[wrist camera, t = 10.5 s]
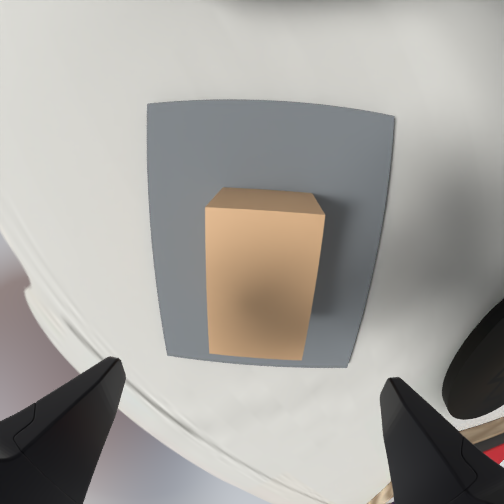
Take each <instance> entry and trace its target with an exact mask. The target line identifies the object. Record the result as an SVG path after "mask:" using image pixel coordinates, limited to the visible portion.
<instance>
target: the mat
mask: <svg viewBox="0 0 504 504" xmlns="http://www.w3.org/2000/svg"><path fill="white" fill-rule="evenodd" d="M393 130H394V116H391V115H386V114H381V113H376V112H370V111H364V110H358V109H352V108H345V107H337V106H329V105H321V104H311V103H300V102H287V101H270V100H191V101H174V102H161V103H150V104H147V172H148V196H149V213H150V226H151V239H152V249H153V259H154V269H155V277H156V286H157V293H158V301H159V308H160V315H161V321H162V327H163V334H164V339H165V345H166V351H167V356H174V357H181V358H188V359H196V360H204V361H213V362H223V363H233V364H245V365H259V366H276V367H302V368H347V366H348V363H349V360H350V357H351V353H352V350H353V347H354V343H355V340H356V337H357V333H358V330H359V326H360V322H361V319H362V315H363V311H364V307H365V303H366V299H367V295H368V291H369V287H370V283H371V278H372V274H373V269H374V265H375V260H376V255H377V250H378V245H379V240H380V234H381V228H382V223H383V217H384V210H385V204H386V197H387V189H388V182H389V173H390V164H391V155H392V143H393ZM223 187H225V188H246V189H264V190H279V191H292V192H305V193H312V194H313V195H314V197H315V199H316V200H317V202H318V204H319V205H320V207H321V209H322V210H323V212H324V214H325V221H324V229H323V237H322V245H321V252H320V259H319V266H318V272H317V279H316V285H315V291H314V297H313V303H312V309H311V315H310V320H309V326H308V331H307V337H306V342H305V347H304V352H303V357H302V360H281V359H264V358H251V357H239V356H228V355H218V354H209V338H208V317H207V290H206V249H205V207H206V206H207V205H208V203H209V202H210V201H211V200H212V199H213V198H214V197H215V195H216V194H217V193H218V192H219V191H220V190H221V189H222V188H223Z"/></svg>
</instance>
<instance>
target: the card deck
mask: <svg viewBox="0 0 504 504" xmlns="http://www.w3.org/2000/svg"><path fill="white" fill-rule="evenodd" d="M324 221H325V214H324V212H323V210H322V209H321V207H320V205H319V204H318V202H317V200H316V199H315V197H314V195H313V194H312V193H305V192H292V191H279V190H264V189H246V188H225V187H223V188H222V189H221V190H220V191H219V192H218V193H217V194H216V195H215V197H214V198H213V199H212V200H211V201H210V202H209V203H208V205H207V206H206V207H205V249H206V290H207V317H208V338H209V354H218V355H228V356H239V357H251V358H264V359H281V360H302V357H303V352H304V347H305V342H306V337H307V331H308V326H309V320H310V315H311V309H312V303H313V297H314V291H315V285H316V279H317V272H318V266H319V259H320V252H321V245H322V237H323V229H324Z"/></svg>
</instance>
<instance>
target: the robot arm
mask: <svg viewBox="0 0 504 504" xmlns="http://www.w3.org/2000/svg"><path fill="white" fill-rule="evenodd" d="M125 380H126V375H125V371H124V368H123V365H122V362H121V360H120V359H119V358H115V357H107V358H105V359H104V360H102V361H101V362H99V363H98V364H96V365H94V366H93V367H91V368H90V369H88V370H86V371H85V372H83V373H82V374H80V375H78V376H77V377H75V378H74V379H72V380H70V381H69V382H68V383H66V384H64V385H62V386H61V387H59V388H58V389H56V390H54V391H53V392H51V393H50V394H48V395H46V396H45V397H43V398H42V399H40V400H38V401H37V402H36V403H33V404H32V405H30V406H28V407H27V408H25V409H23V410H21V411H20V412H18V413H16V414H14V415H12V416H10V417H9V418H6V419H4V420H2V421H0V504H83V502H84V499H85V496H86V493H87V490H88V487H89V484H90V482H91V479H92V476H93V473H94V470H95V467H96V465H97V462H98V460H99V457H100V454H101V451H102V449H103V446H104V444H105V441H106V438H107V436H108V433H109V431H110V428H111V426H112V423H113V421H114V418H115V415H116V412H117V409H118V405H119V402H120V398H121V394H122V391H123V387H124V384H125ZM380 406H381V416H382V428H383V437H384V443H385V448H386V453H387V459H388V464H389V470H390V476H391V482H392V489H393V495H394V503H395V504H504V468H503V467H502V466H500V465H499V464H498V463H496V462H495V461H494V460H492V459H491V458H489V457H488V456H487V455H486V454H484V453H483V452H482V451H480V450H479V449H478V448H477V447H476V446H475V445H473V444H472V443H471V442H470V441H469V440H468V439H467V438H466V437H465V436H463V435H462V434H461V433H460V432H459V431H458V430H457V429H456V428H455V427H454V426H453V425H451V424H450V423H449V422H448V421H447V420H446V419H445V418H444V417H443V416H442V415H441V414H439V413H438V412H437V411H436V410H435V409H434V408H433V407H432V406H431V405H430V404H429V403H427V402H426V401H425V400H424V399H423V398H422V397H421V396H420V395H419V394H418V393H416V392H415V391H414V390H413V389H412V388H411V387H410V386H409V385H408V384H407V383H406V382H404V381H403V380H402V379H401V378H399V377H393V378H388V379H387V381H386V383H385V385H384V387H383V390H382V392H381V394H380Z"/></svg>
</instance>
